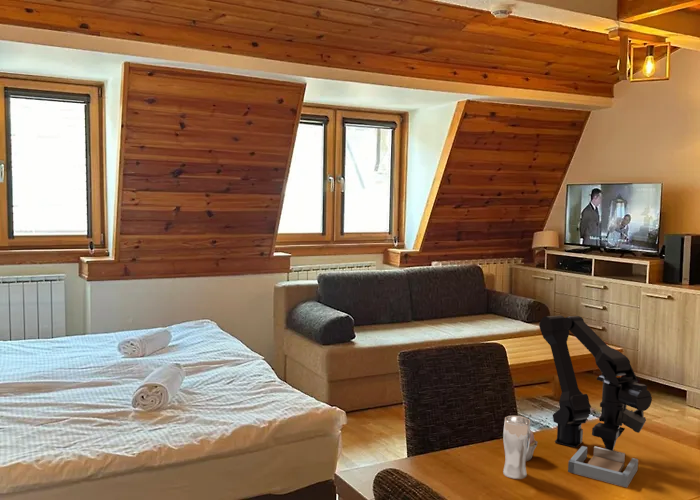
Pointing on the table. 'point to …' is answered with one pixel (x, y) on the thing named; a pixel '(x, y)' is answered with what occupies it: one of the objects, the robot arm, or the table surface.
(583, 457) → the bay
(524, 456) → the beer glass
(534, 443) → the cupcake
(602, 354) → the robot arm
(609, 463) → the l-shaped bracket
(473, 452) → the table surface
